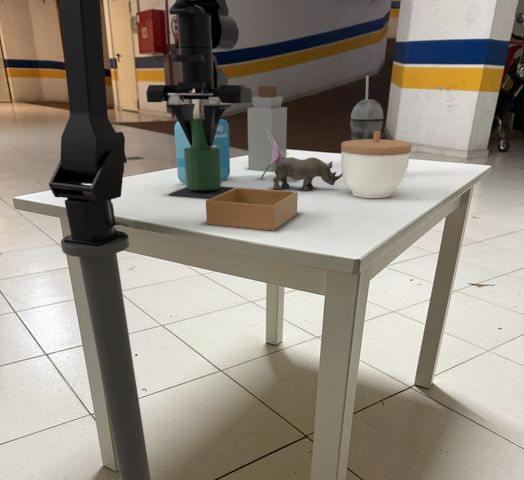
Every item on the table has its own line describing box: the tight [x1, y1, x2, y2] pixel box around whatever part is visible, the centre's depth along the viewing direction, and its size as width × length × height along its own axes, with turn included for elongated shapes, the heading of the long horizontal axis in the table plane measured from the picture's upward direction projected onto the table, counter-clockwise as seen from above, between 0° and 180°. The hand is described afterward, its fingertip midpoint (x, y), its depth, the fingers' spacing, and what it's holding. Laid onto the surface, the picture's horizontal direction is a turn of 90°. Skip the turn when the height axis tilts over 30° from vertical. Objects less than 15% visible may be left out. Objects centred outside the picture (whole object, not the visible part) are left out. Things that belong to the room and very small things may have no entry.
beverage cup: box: [349, 75, 384, 140], centre depth 109 cm, size 7×7×20 cm
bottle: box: [184, 118, 222, 190], centre depth 94 cm, size 7×7×12 cm
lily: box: [260, 128, 289, 180], centre depth 108 cm, size 12×12×10 cm
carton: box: [205, 187, 299, 232], centre depth 78 cm, size 11×11×4 cm
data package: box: [174, 118, 231, 184], centre depth 104 cm, size 12×4×12 cm, turn 144°
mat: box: [168, 186, 234, 200], centre depth 97 cm, size 10×10×1 cm
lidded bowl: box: [340, 131, 413, 199], centre depth 92 cm, size 13×13×11 cm
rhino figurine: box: [272, 156, 343, 191], centre depth 98 cm, size 4×14×6 cm, turn 81°
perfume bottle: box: [247, 85, 288, 172], centre depth 118 cm, size 7×7×18 cm
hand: (201, 145), depth 93 cm, fingers closed on bottle, 3 cm apart
